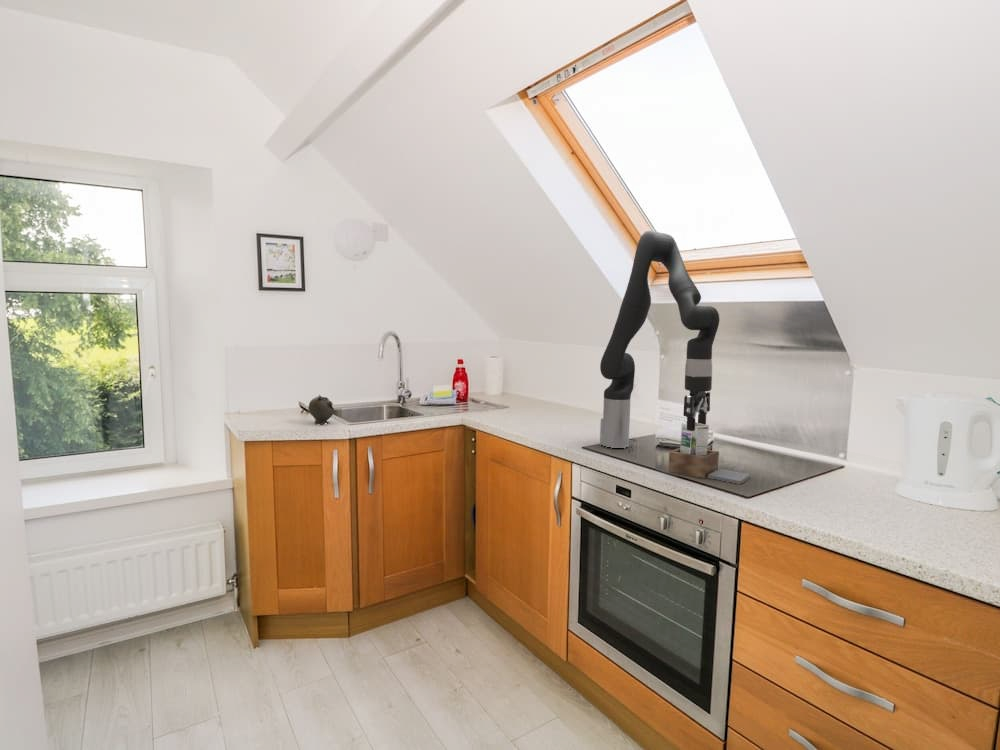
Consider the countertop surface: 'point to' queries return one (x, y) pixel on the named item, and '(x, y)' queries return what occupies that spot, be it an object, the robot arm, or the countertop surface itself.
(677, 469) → the walnut sleeve
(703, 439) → the syrup box
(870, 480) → the countertop surface
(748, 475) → the slate mat
